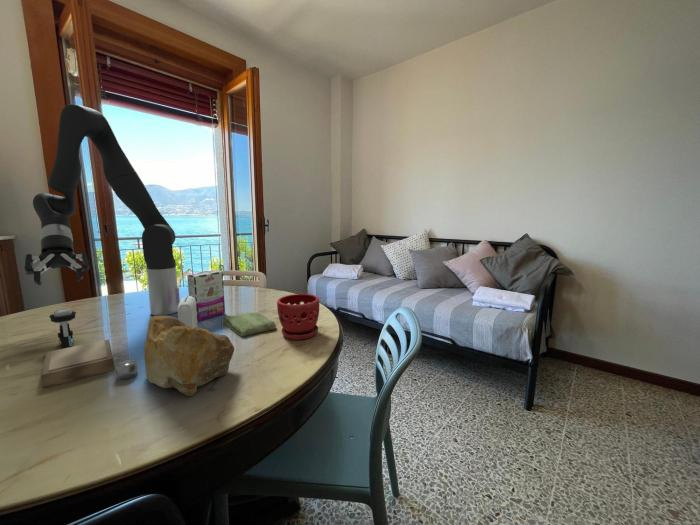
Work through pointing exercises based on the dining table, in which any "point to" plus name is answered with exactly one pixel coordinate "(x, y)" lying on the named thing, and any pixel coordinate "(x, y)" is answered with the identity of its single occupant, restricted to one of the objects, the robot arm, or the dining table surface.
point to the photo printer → (188, 311)
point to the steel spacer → (126, 369)
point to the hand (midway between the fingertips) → (59, 282)
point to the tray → (77, 362)
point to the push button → (64, 325)
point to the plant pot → (298, 315)
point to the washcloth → (249, 323)
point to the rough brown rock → (184, 355)
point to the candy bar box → (207, 293)
